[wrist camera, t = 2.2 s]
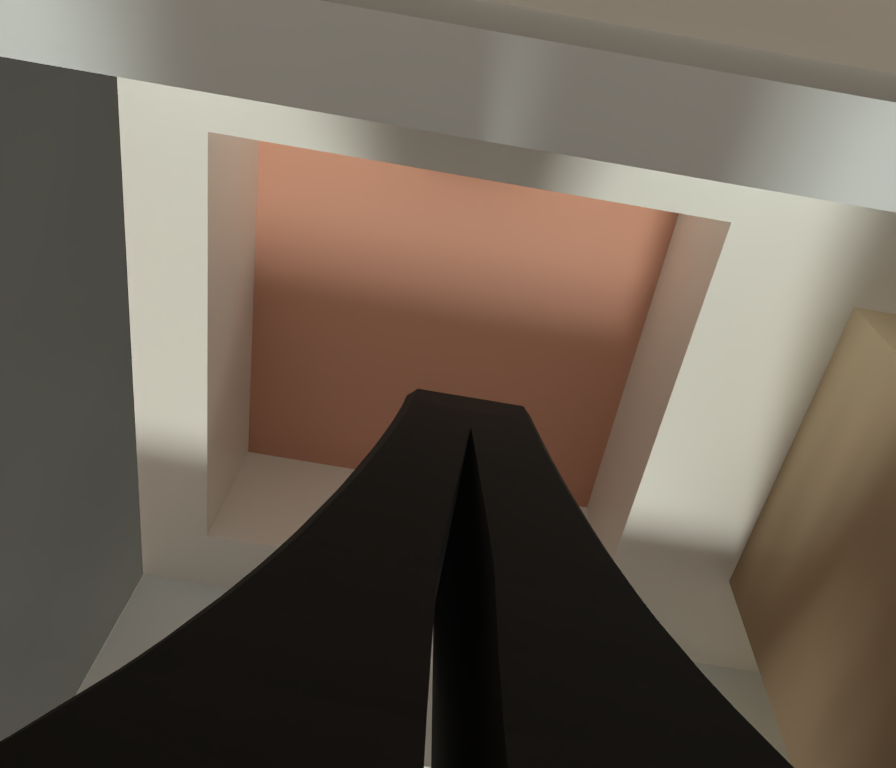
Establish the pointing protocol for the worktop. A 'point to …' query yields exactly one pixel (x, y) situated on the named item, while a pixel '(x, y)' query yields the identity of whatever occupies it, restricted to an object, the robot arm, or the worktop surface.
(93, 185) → the worktop surface
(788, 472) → the block
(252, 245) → the white tray
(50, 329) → the worktop surface
